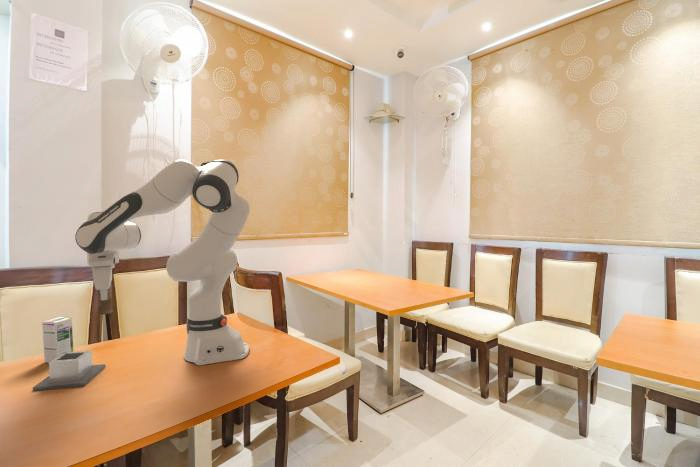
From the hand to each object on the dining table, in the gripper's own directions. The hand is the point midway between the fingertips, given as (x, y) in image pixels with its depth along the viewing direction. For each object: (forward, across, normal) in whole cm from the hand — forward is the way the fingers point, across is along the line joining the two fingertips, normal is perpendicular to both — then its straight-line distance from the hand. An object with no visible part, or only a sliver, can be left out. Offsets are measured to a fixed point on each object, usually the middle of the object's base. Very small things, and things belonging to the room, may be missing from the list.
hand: (104, 298), depth 118 cm
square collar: (+22, +10, -8) cm, 26 cm away
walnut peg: (+5, 0, 0) cm, 5 cm away
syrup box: (+22, -9, -14) cm, 28 cm away
